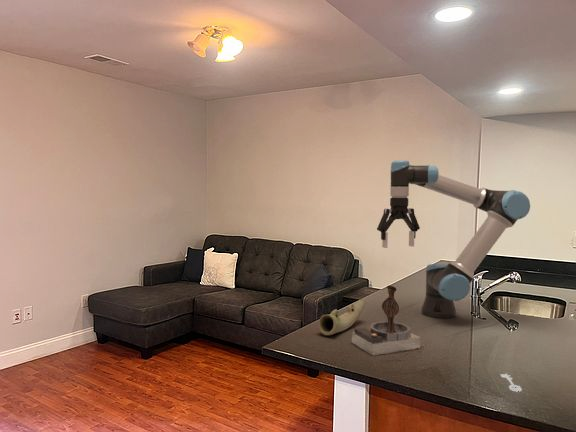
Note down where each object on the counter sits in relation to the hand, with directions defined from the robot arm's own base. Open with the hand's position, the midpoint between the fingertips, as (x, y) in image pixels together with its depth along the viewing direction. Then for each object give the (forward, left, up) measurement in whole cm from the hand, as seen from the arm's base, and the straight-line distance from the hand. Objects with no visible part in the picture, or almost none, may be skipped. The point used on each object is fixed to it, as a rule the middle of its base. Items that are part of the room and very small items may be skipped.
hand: (398, 247), depth 188 cm
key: (+4, +62, -33) cm, 71 cm away
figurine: (+19, +22, -29) cm, 41 cm away
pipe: (+26, -1, -33) cm, 42 cm away
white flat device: (+21, +22, -33) cm, 45 cm away
